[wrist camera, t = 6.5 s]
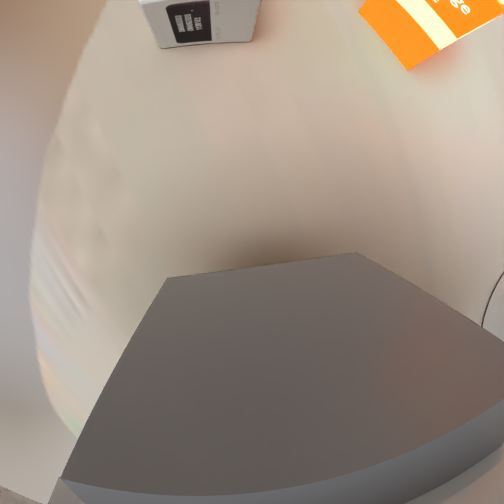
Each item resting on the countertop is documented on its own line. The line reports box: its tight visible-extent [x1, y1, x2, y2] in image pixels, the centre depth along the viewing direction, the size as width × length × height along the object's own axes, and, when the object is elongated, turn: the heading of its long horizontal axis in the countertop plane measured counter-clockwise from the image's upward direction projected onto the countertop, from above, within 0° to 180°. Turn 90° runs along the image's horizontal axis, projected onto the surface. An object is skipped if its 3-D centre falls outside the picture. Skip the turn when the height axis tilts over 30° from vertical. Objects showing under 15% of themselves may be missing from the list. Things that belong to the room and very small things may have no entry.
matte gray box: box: [61, 252, 504, 504], centre depth 8 cm, size 7×7×9 cm
